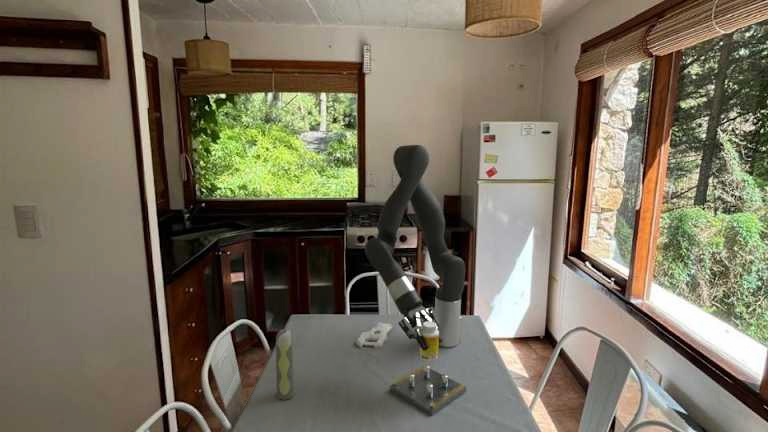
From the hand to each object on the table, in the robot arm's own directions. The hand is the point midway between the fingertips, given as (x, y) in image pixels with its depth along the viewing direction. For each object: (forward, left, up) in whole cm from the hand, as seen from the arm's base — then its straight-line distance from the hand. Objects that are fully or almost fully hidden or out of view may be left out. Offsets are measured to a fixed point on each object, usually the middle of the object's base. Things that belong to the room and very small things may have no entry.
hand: (433, 345), depth 118 cm
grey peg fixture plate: (0, -2, -15) cm, 15 cm away
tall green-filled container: (+36, -23, -15) cm, 45 cm away
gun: (-5, -39, -16) cm, 42 cm away
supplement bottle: (0, -2, -4) cm, 5 cm away
